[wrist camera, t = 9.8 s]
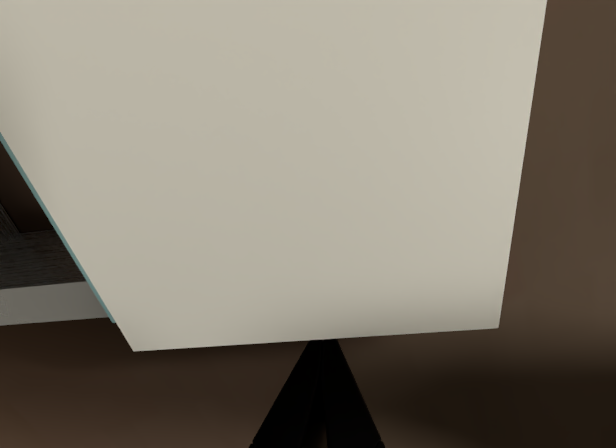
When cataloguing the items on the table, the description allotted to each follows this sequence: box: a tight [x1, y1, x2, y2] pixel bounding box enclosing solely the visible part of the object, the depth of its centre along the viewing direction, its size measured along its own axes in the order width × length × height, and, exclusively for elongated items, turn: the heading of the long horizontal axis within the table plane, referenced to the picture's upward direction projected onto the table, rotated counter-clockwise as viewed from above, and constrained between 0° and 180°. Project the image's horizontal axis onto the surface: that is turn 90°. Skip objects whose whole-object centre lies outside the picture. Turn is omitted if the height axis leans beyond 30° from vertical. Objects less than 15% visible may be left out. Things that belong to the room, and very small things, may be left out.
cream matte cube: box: [0, 0, 547, 351], centre depth 5 cm, size 5×5×5 cm
